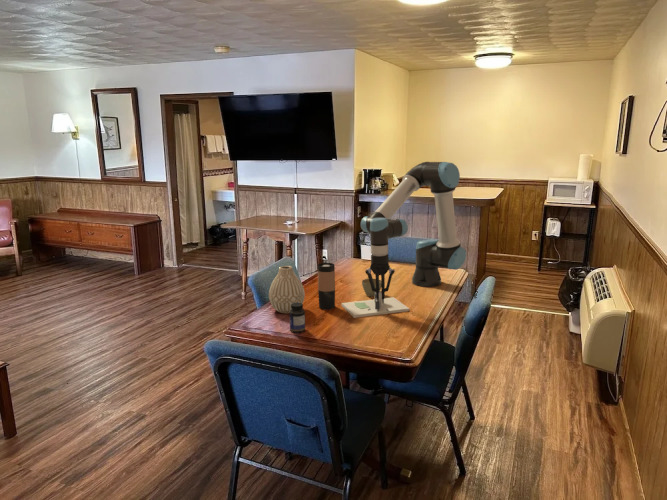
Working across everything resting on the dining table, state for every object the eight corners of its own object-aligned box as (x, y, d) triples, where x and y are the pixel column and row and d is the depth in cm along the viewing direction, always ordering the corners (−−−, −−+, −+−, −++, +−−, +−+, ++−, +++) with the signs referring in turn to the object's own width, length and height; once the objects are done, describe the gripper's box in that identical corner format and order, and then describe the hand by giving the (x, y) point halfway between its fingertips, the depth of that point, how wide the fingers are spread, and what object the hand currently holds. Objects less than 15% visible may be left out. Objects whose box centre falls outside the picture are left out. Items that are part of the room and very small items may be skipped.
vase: (277, 318, 206) (275, 273, 202) (264, 308, 220) (262, 265, 216) (310, 312, 214) (309, 268, 209) (296, 302, 227) (295, 261, 223)
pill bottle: (290, 327, 196) (289, 302, 194) (305, 327, 197) (304, 301, 194) (290, 333, 190) (289, 307, 188) (305, 333, 190) (304, 306, 188)
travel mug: (337, 305, 222) (337, 263, 218) (332, 310, 215) (331, 267, 211) (322, 303, 225) (321, 262, 221) (316, 309, 218) (315, 266, 214)
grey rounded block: (374, 300, 223) (374, 289, 222) (384, 300, 222) (384, 290, 221) (372, 309, 211) (372, 298, 210) (382, 309, 210) (382, 298, 209)
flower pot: (381, 298, 231) (381, 284, 230) (360, 297, 233) (360, 283, 232) (383, 292, 241) (383, 278, 239) (363, 291, 243) (363, 277, 241)
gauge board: (393, 299, 230) (393, 296, 229) (409, 311, 214) (409, 307, 213) (341, 305, 222) (341, 302, 222) (353, 317, 206) (353, 314, 206)
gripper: (395, 252, 210) (395, 303, 215) (366, 252, 212) (367, 303, 217) (393, 256, 202) (394, 309, 207) (363, 256, 205) (365, 308, 210)
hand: (380, 306), depth 212 cm, fingers closed
